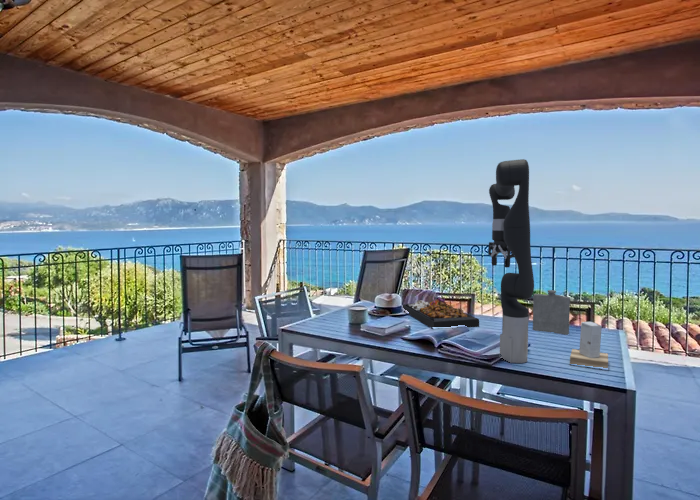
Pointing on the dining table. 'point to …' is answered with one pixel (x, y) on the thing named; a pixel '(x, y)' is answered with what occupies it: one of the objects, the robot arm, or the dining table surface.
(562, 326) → the hip flask
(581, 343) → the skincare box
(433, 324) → the food platter
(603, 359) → the oak stand
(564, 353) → the dining table surface
